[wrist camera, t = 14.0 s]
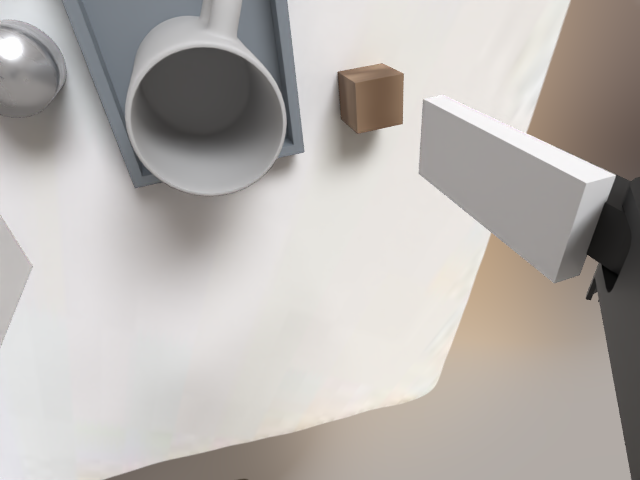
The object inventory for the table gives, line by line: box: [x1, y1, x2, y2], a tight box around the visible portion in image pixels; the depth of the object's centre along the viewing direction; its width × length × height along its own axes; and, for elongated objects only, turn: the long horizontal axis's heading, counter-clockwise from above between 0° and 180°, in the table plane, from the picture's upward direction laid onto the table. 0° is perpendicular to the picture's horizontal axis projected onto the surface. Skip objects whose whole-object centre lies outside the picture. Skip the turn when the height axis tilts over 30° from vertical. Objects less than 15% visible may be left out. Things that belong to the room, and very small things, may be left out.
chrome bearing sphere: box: [0, 20, 66, 118], centre depth 26 cm, size 5×5×4 cm
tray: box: [62, 0, 304, 188], centre depth 29 cm, size 14×17×2 cm
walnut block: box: [338, 64, 404, 134], centre depth 34 cm, size 4×4×4 cm
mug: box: [125, 0, 287, 196], centre depth 26 cm, size 12×8×11 cm
